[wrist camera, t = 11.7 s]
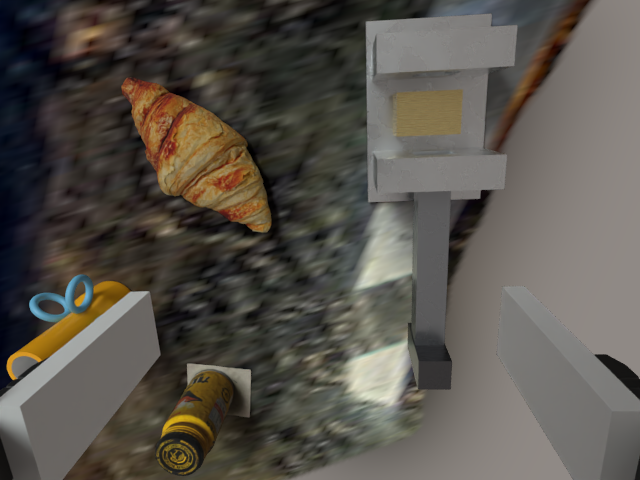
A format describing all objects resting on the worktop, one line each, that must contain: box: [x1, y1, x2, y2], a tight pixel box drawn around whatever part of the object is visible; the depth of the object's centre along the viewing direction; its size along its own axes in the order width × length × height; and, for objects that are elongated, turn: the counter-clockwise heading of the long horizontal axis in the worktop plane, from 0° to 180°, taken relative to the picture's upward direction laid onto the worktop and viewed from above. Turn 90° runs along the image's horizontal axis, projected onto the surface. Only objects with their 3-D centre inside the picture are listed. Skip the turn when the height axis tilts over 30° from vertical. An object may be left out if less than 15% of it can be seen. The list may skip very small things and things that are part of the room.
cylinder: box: [7, 275, 131, 380], centre depth 46 cm, size 12×10×15 cm
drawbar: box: [408, 154, 452, 389], centre depth 43 cm, size 23×3×8 cm, turn 3°
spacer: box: [393, 89, 463, 137], centre depth 41 cm, size 4×6×4 cm
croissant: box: [122, 77, 271, 232], centre depth 45 cm, size 21×10×8 cm, turn 43°
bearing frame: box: [366, 14, 518, 202], centre depth 40 cm, size 18×12×9 cm, turn 3°
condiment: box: [155, 364, 251, 476], centre depth 50 cm, size 7×8×12 cm
